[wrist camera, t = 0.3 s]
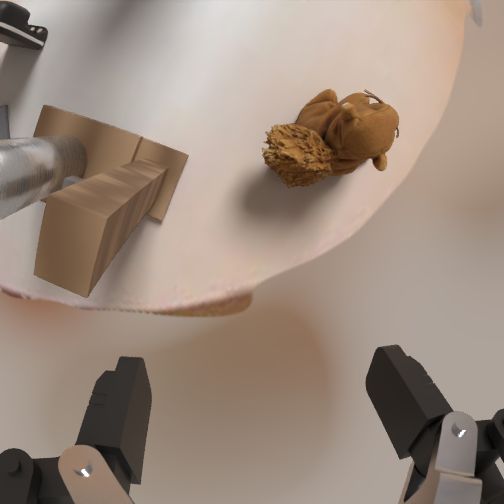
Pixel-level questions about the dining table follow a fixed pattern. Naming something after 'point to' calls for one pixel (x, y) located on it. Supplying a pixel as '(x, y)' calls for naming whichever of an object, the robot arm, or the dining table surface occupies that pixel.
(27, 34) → the battery charger
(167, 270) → the dining table surface
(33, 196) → the steel cylinder
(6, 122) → the felt pad
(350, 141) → the stuffed squirrel
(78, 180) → the walnut standard
